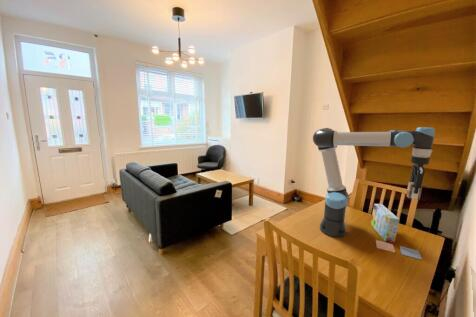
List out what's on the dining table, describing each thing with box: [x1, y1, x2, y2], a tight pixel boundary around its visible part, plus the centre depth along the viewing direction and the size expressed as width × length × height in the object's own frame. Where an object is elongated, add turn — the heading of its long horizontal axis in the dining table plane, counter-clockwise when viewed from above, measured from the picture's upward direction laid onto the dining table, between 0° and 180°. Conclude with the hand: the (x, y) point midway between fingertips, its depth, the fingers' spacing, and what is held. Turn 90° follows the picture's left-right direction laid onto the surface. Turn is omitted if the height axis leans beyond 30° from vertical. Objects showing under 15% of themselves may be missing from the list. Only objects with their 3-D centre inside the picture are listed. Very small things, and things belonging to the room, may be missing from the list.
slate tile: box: [399, 245, 423, 261], centre depth 109 cm, size 8×8×1 cm
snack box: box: [370, 203, 400, 244], centre depth 127 cm, size 21×6×15 cm, turn 168°
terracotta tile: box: [375, 239, 396, 253], centre depth 114 cm, size 8×8×1 cm
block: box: [405, 181, 423, 201], centre depth 115 cm, size 5×5×8 cm
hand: (412, 196), depth 116 cm, fingers closed on block, 5 cm apart
